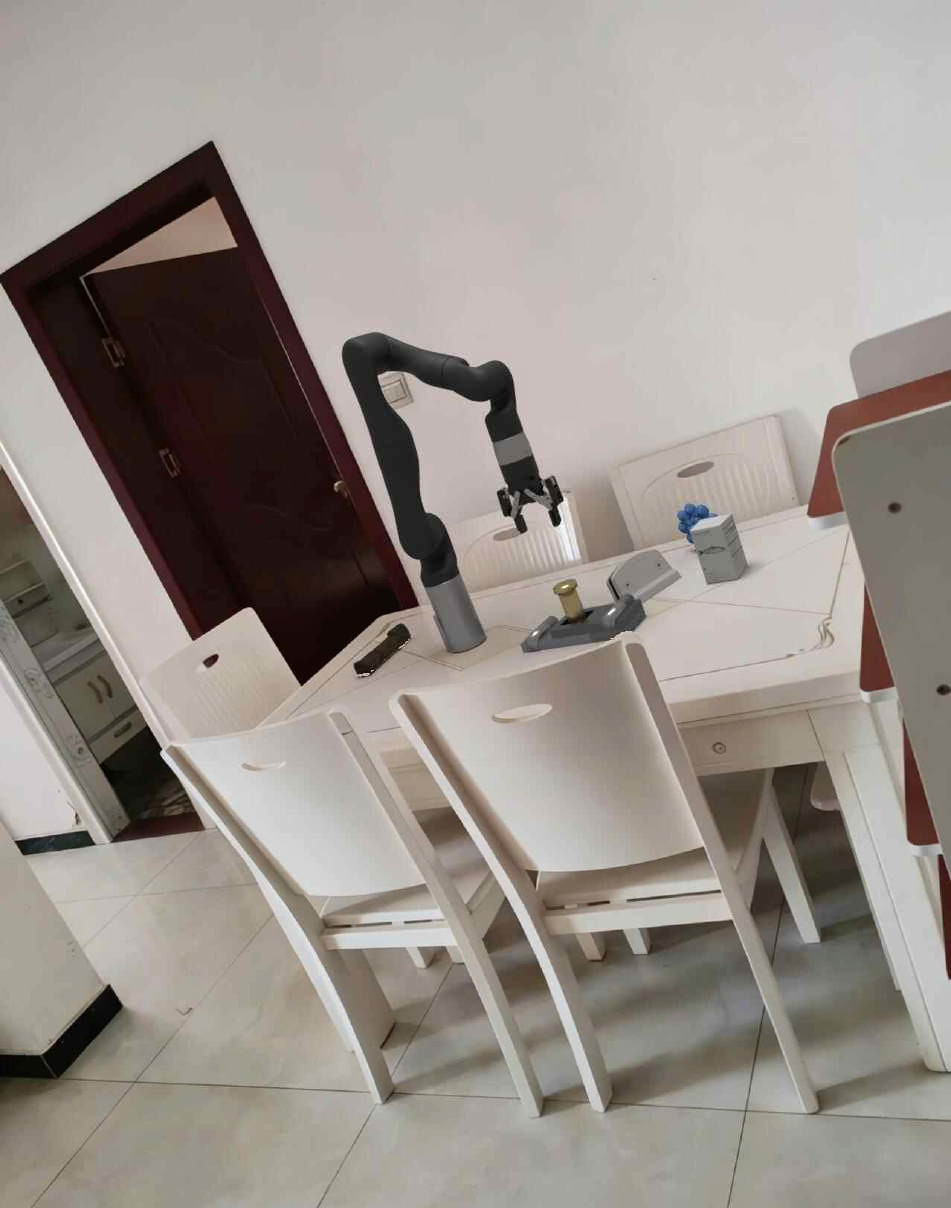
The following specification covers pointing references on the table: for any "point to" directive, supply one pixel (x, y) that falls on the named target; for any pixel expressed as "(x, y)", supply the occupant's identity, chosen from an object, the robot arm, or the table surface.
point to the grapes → (692, 518)
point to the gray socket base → (587, 625)
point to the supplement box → (719, 548)
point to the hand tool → (383, 649)
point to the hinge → (641, 576)
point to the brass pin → (570, 601)
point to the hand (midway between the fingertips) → (540, 529)
